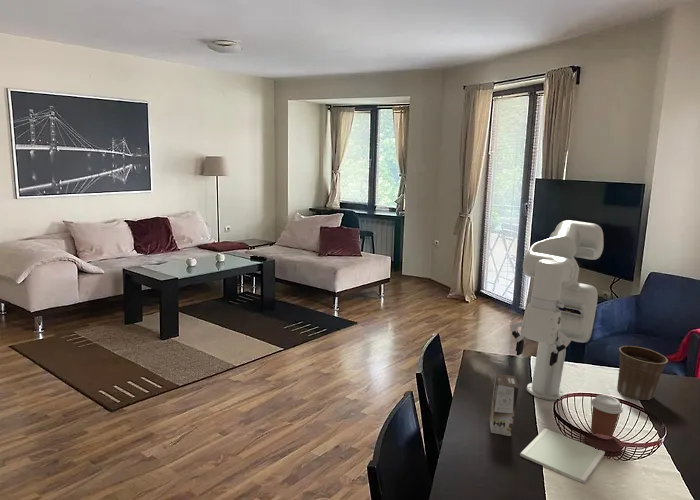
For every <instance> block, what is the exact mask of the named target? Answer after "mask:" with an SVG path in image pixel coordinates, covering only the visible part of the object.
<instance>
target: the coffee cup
mask: <svg viewBox="0 0 700 500" xmlns="http://www.w3.org/2000/svg"><path fill="white" fill-rule="evenodd" d="M590 404H591V405H592V413H591V425H590V434H591V433H598V434H603V435H609V436H614V431H615V429H616V426H617V422H618V419H619V416H620V414H622V413H623V411H624V410H623V409H624V407H623V406H622V405H621V402H620V400H619V399H617V398H615V397H614V396H610V395H606V394H597V395H596V396H595V397H594V398H593V399H592V400H591V402H590Z"/></svg>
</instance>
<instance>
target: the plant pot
mask: <svg viewBox="0 0 700 500" xmlns="http://www.w3.org/2000/svg"><path fill="white" fill-rule="evenodd" d="M618 351H619V358H618V359H619V368H618V377H617V384H616V385H617V386H616V388H617V391H618V392H619V393H620V394H621V395H623V396H624V395H625V397H626V396H627V398H629V397H630V398H629V399H632V398H634V399H633V400H635V399H636V400H638V401H640V400H649V401H651V400H650V399H652V400H653V398H654V396H655V392H656V389H657V386H658V384H659V382H660V379H661V374H662V372H663V371H664V369H665V366H666V364H667V363H669V359H668V358H667V357H666V356H665V355H663V354H661V353H659V352H657V351H654V350H652V349H648V348H646V347H640V346H634V345H623V346H620V347H619V348H618Z"/></svg>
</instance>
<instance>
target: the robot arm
mask: <svg viewBox="0 0 700 500" xmlns="http://www.w3.org/2000/svg"><path fill="white" fill-rule="evenodd" d="M603 251H604V232H603V229H602V227H601V226H600V225H599V224H596V223H594V222H593V223H592V222H585V221H580V220H579V221H578V220H571V219H570V220H569V219H568V220H563V221H561V222H559V223H558V224H557V225H556V227H555V229H554V231H552V232H551V234H550V235H549V238H546V239H543V240H540V241H537V242H534V243H533V244H532V245H531V246H530V247H529V248H528V250H527V252H526V254H525V256H524V259H523V263H522V271H523V274H524V275H526V276H527V277H529V278H532V279H533V283H532V291H531V297H530V303H528V304H527V306H526V308H525V311H524V315H523V318H522V321H518V322H515V323H511V324H510V325H509V328H510V331H511V334H512V336H513V338H514V339H515V342H516V344H515V352H516V354H515V355H516V356H521V355H522V354H523V352H524V345H525V340H524V339H526V340H530V341H534V342H537V343H538V344H537V345H538V346H537V351H536V357H535V364H534V370H533V374H532V381H531V382H530V383H528V384H527V386H526V391H527V392H528V393H529V394H531V395H532V396H534V397H535V398H536V397H537V398H539V399H542V400H547V401H558V400H557V399H559V398H560V397H561V396H563V397H564V393H563V390H561V389H560V387H561V381H562V376H563V370H564V365H565V358H566V354H567V353H566V351H567V350H566V348H567V347H568V346H569V345H570V343H571V342H572V341H573V342H576V343H587V342H588V341H590V339H591V337H592V332H593V328H594V321H595V316H596V311H597V304H598V296H599V295H598V290H597V288H596V287H595V285H594V286H593V285H591V284H588V283H587V284H586V283H581V282H578V279H579V273H580V266H579V265H578V262H577V260H576V259H575V258H580V259H586V260H593V261H594V260H597V259H599V258H601V255H602V254H603ZM564 308H566V309H570V310H571V309H572V310H576V311H579V312H580V314H578V313H573V312H569V311H565V310H561V309H564ZM517 328H520V332H518V329H517ZM559 400H560V399H559Z"/></svg>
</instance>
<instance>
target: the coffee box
mask: <svg viewBox="0 0 700 500" xmlns="http://www.w3.org/2000/svg"><path fill="white" fill-rule="evenodd" d="M494 379H495V380H494V386H493V393H492V399H491V400H492V401H491V407H490V414H489V427H490V433H492V434H495V435H496V434H497V435H503V436H507V437H511V436H512V432H513V427H514V419H515V413H516V408H517V402H518V396H519V389H520V386H519V383H518V380H517V376H515V375H506V374H498V373H495V378H494Z"/></svg>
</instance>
